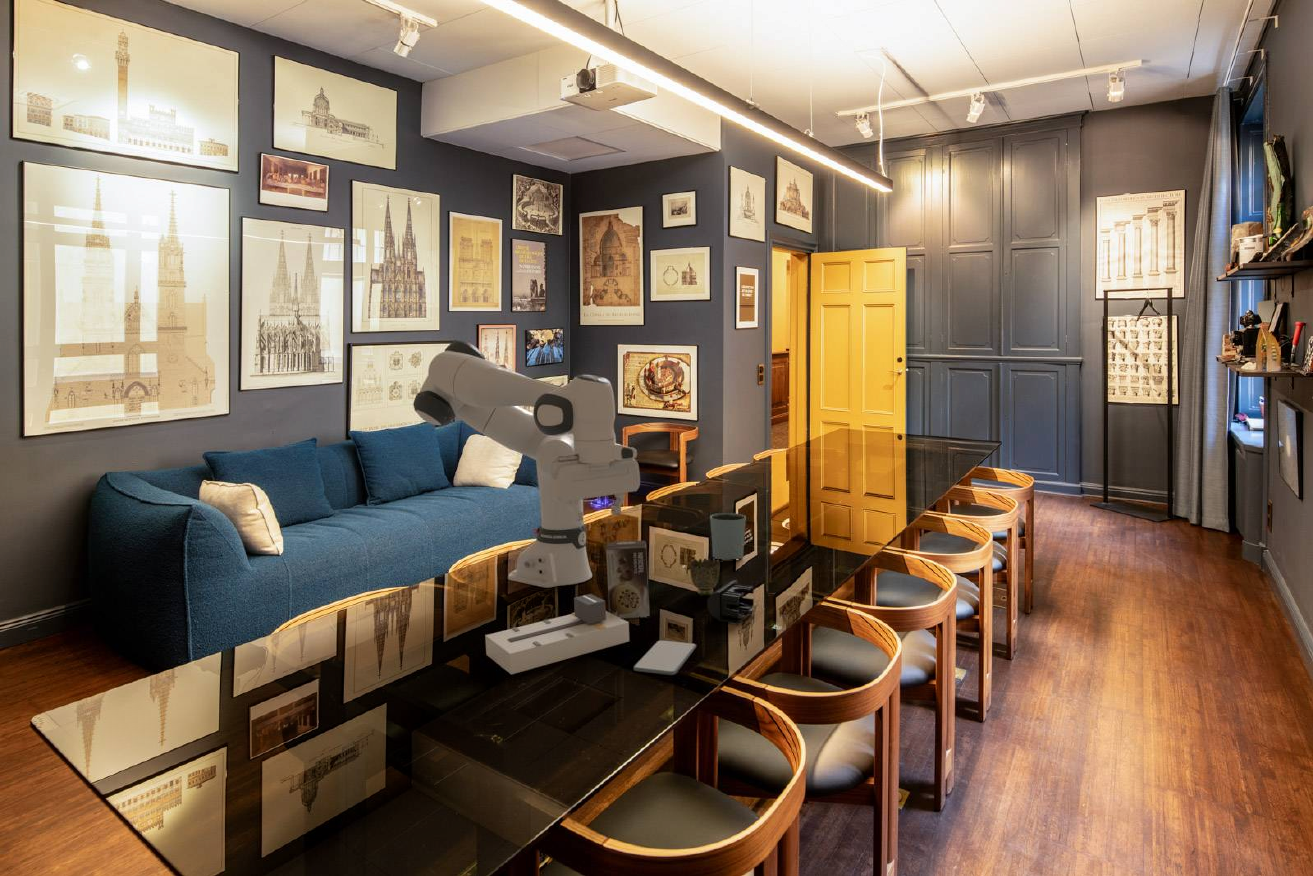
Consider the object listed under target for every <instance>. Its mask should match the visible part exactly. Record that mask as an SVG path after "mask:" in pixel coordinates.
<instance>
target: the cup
mask: <svg viewBox="0 0 1313 876" xmlns="http://www.w3.org/2000/svg"><path fill="white" fill-rule="evenodd" d="M689 562H690V563H689V570H690V577H691V583H692V584H693V586H694V587H695V588H697V593H698V595H699V596H703V595H708V596H711V595H712V594H713V593H714V589H713V588H715V587H716V586H717V584H718V582H719V579H720V569H721V568H720V567H721V561H719V560H715V559H714V558H713V559H710V558H708V559H707V558H703V560H702V558H699V559H698V560H697V559H696V558H694V559H693V560H689Z"/></svg>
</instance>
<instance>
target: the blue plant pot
mask: <svg viewBox="0 0 1313 876" xmlns="http://www.w3.org/2000/svg"><path fill="white" fill-rule="evenodd" d="M746 521H747V517H746V515H744V514H740V513H734V512H722V513H721V512H720V513H714V514H711V515H710V516H709V522H710V531H711V533H710V534H711V542H712V543H711V547H712V549H711V550H712V558H713V557H714V558H715V559H722V560H730V559H740V558H742V557H743V558H744V548H745V545H744V544H745V534H746V533H745V532H746V524H747V523H746ZM714 558H713V559H714ZM743 558H742V559H743Z"/></svg>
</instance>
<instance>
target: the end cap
mask: <svg viewBox="0 0 1313 876" xmlns="http://www.w3.org/2000/svg"><path fill="white" fill-rule="evenodd" d="M754 590H755V589H754V586H753V585H748V584H747V585H746V584H740V583H739V581H738V579H737V580H736V579H735V580H731V581H729V582H727V583H726V584H725V585H723V586H722V587H720V588H719V589H717V590H716V591H713V593H712V594H711V595H709V597H708V599H707V609H708V612H709V613H710V614H711V615H712V616H713V617H714V618H715V619H716V620H717V621H719V622H721V621H722V622H721V623H726V622H728V623H727V624H732V623H739V624H741V623H742V622H743V621H744V620H745V619H746V618H745V617H746V616H747V615H748V614H750V613H751V612H752V611H753V612H754V609H753V608H754V605H755V603H754V602H755V599H754V598H751V597H744V593H745V594H753V595H754V592H755V591H754ZM751 614H752V613H751ZM751 614H750V615H751ZM744 618H745V619H744ZM743 619H744V620H743ZM742 620H743V621H742ZM741 621H742V622H741ZM740 622H741V623H740Z"/></svg>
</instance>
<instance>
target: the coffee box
mask: <svg viewBox="0 0 1313 876" xmlns="http://www.w3.org/2000/svg"><path fill="white" fill-rule="evenodd" d="M605 554H606V569H607V571H606V572H607V573H606V574H607V588H608V589H607V590H608V592H607V593H608V612H609V613H611V614H613V615H615V616H617V617H619V618H622V619H634V618H635V619H636V618H639V617H640V618H648V617H647V616H649V617H650V600H649V599H650V596H649V578H648V576H649V575H648V559H647V558H648V557H647V554H648V553H647V543H646V540H634V541H633V540H632V541H629V540H628V541H615V542H611V541H610V542H606V548H605Z"/></svg>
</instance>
